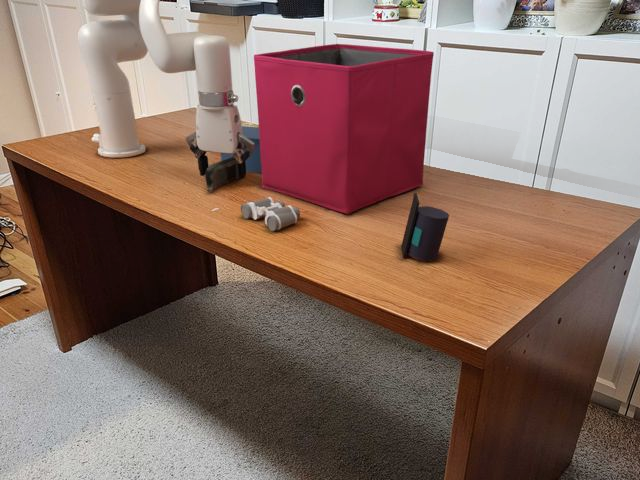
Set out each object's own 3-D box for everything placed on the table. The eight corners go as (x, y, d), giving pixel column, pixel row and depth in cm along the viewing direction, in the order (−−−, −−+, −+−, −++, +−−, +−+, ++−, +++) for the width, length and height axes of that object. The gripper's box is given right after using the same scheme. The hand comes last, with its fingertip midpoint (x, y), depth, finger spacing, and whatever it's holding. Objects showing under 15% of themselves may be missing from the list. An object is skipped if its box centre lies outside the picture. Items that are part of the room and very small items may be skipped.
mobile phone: (230, 154, 144) (199, 169, 132) (241, 155, 144) (211, 170, 132) (232, 174, 147) (201, 191, 135) (243, 175, 146) (212, 192, 134)
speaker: (392, 257, 105) (403, 200, 100) (401, 246, 110) (412, 191, 104) (433, 268, 103) (447, 211, 98) (441, 257, 108) (454, 202, 102)
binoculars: (240, 216, 122) (239, 199, 120) (271, 207, 127) (271, 191, 125) (276, 233, 115) (275, 216, 113) (307, 223, 119) (307, 206, 117)
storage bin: (255, 188, 138) (247, 52, 122) (336, 162, 155) (338, 41, 140) (346, 218, 122) (350, 66, 106) (425, 186, 139) (439, 51, 124)
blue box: (219, 169, 150) (216, 135, 145) (239, 158, 159) (236, 125, 154) (264, 174, 146) (263, 139, 142) (282, 163, 155) (281, 129, 150)
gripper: (258, 99, 131) (262, 176, 140) (190, 93, 136) (198, 168, 145) (243, 105, 125) (248, 185, 134) (172, 99, 130) (182, 177, 139)
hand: (222, 176), depth 140 cm, fingers open, 9 cm apart
